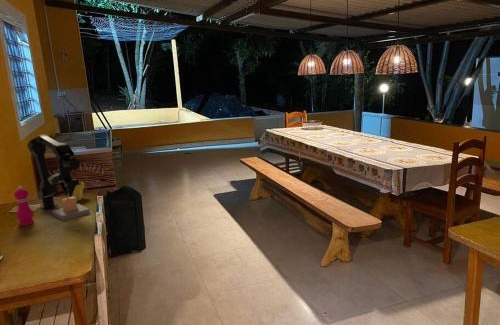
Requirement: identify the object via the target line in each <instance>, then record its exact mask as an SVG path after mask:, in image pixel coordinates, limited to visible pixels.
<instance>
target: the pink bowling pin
mask: <svg viewBox="0 0 500 325" xmlns="http://www.w3.org/2000/svg"><path fill="white" fill-rule="evenodd" d="M13 195H14V197H15V198H16V203H17V204H18V205H17V206H18V207H17V208H18V209H17V211H16V218H17V220H19V221H18V224H19V226H28V225H31V224H33V223H34V218H33V216H34V212H33V210H32V208H31V207H30V206H29V203H28V201H29V197H28V196H29V191H28V190H27V189H26V188H23V186H21V185H18V188H17V189H16V190H14V194H13Z"/></svg>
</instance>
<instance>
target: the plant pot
mask: <svg viewBox="0 0 500 325" xmlns="http://www.w3.org/2000/svg"><path fill="white" fill-rule="evenodd" d="M84 189H85V185H84V182H82V181H79V185H76V187H75V189H74V192H73V195H72V197H75V198H76V202H77V201H81V200H83V193H84ZM67 196H69V194H68V195H67Z"/></svg>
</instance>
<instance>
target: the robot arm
mask: <svg viewBox="0 0 500 325" xmlns="http://www.w3.org/2000/svg"><path fill="white" fill-rule="evenodd" d="M28 141H29V142H28V143H27V149H28V151H29V152H30V154H32V156H33V157H34V160H35V163H36V167H37V170H38V173H39V177H40V184H39V186H38V188H39V190H38V193H37V198H38V199H39V200H42V207H41V208H40V210H48V209H49V210H50V209H51V210H53V209H54V208H55V207H57V206H58V203H55V198H54V197H57V196H58V187H57V185H56V184H58V185H60V187H61V189H62V191H63V193H64V195H66V196H68V198H69V197H72V195H73V192H74V189H75V187H76V185H79V182H80V181H79V180H78V179H76V178H74V176H73V174H72V172H73V171H77V170H78V169H79V168H80V166H81V162H80V160H79V159H77V158H76V156H75V152H74V151H73V149H72V148H71V146H70V145H69V144H68V143H65V142H60V141H59V142H58V141H57V140H55V139H53V138H51V137H50V136H49V135H48V134H38V135H37V136H36V137H35V138H33V139H31V140H28ZM47 148H49V149H50V150H51V151H52V153H53V155H55V158H54V159H55V160H57V167H58V168H57V170H56V173H54V174H52V175H50V171H49V168H48V164H47V160H46V155H45V154H46V152H47ZM68 194H69V195H68Z"/></svg>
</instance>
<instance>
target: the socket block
mask: <svg viewBox="0 0 500 325" xmlns="http://www.w3.org/2000/svg"><path fill="white" fill-rule="evenodd" d="M51 210H52V211H51V212H52V215H53V216H55V217H56V218H57V219H59V220H61V221H63V222H64V221H67V220H71V219H74V218H78V217H82V216H85V215H88V214H90V208H88V207H86V206H84V205H81V204H80V203H77V210H73V211H69V212H66V213H65V212H64V210H63V207H61V208H58V209H57V208H56V209H51Z"/></svg>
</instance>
